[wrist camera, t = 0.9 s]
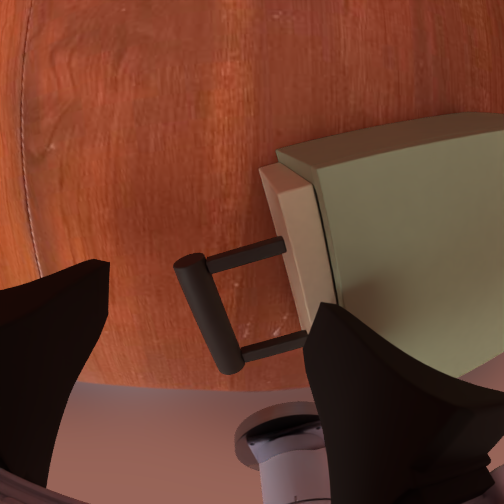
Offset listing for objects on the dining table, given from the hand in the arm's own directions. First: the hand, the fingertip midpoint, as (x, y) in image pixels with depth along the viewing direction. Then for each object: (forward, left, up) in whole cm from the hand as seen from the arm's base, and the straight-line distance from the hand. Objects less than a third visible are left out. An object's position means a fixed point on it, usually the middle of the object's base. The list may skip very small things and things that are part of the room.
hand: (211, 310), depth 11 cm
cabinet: (-2, -11, -8) cm, 14 cm away
